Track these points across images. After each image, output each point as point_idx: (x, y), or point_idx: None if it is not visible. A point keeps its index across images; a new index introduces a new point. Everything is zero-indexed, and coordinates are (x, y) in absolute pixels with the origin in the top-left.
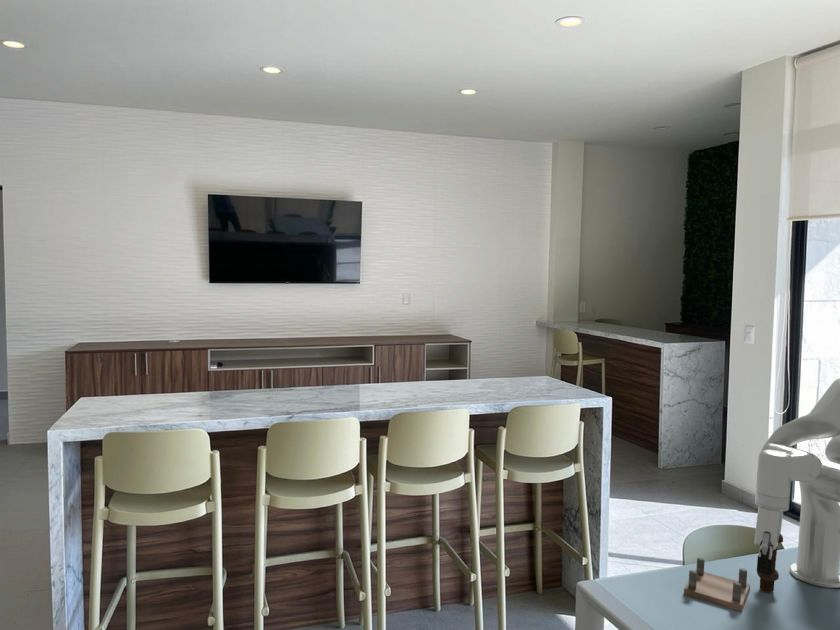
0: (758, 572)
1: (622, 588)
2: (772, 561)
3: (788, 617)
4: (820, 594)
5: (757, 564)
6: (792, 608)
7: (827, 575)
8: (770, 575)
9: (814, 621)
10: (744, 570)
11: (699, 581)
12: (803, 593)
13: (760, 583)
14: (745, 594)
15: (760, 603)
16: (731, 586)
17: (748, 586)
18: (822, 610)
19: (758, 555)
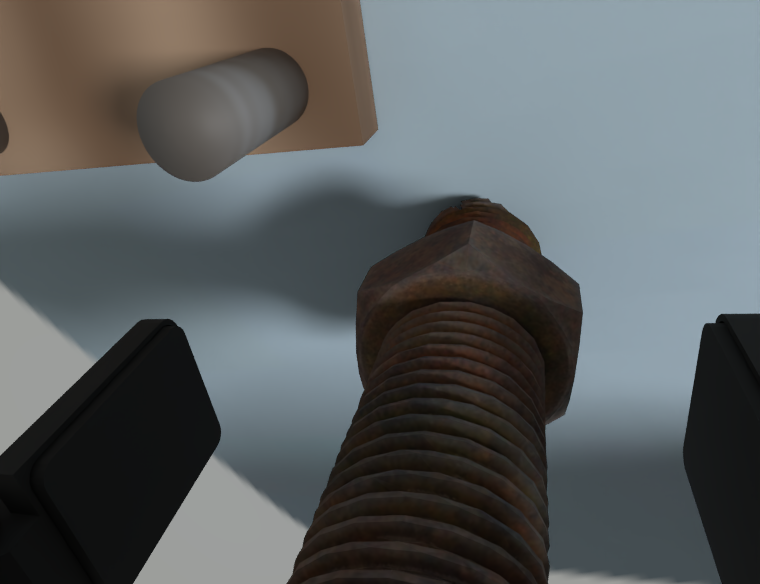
0: (415, 255)
1: None
2: (124, 581)
3: None
4: (692, 539)
5: (88, 375)
6: (324, 407)
7: None
8: (362, 383)
9: (265, 490)
10: (191, 146)
11: None
12: (631, 460)
13: (446, 226)
14: (132, 158)
15: (219, 244)
16: (159, 2)
17: (304, 143)
18: None
19: (8, 480)
